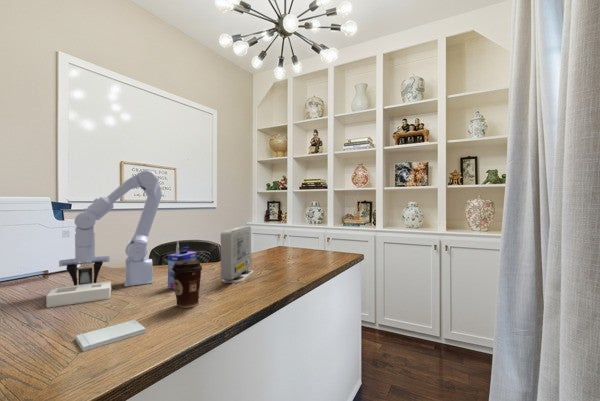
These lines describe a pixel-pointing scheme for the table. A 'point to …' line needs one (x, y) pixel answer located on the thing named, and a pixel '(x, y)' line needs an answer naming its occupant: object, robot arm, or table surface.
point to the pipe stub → (85, 275)
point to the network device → (235, 254)
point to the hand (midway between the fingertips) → (85, 284)
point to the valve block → (79, 294)
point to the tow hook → (177, 247)
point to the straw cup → (175, 258)
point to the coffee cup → (187, 283)
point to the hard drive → (109, 335)
